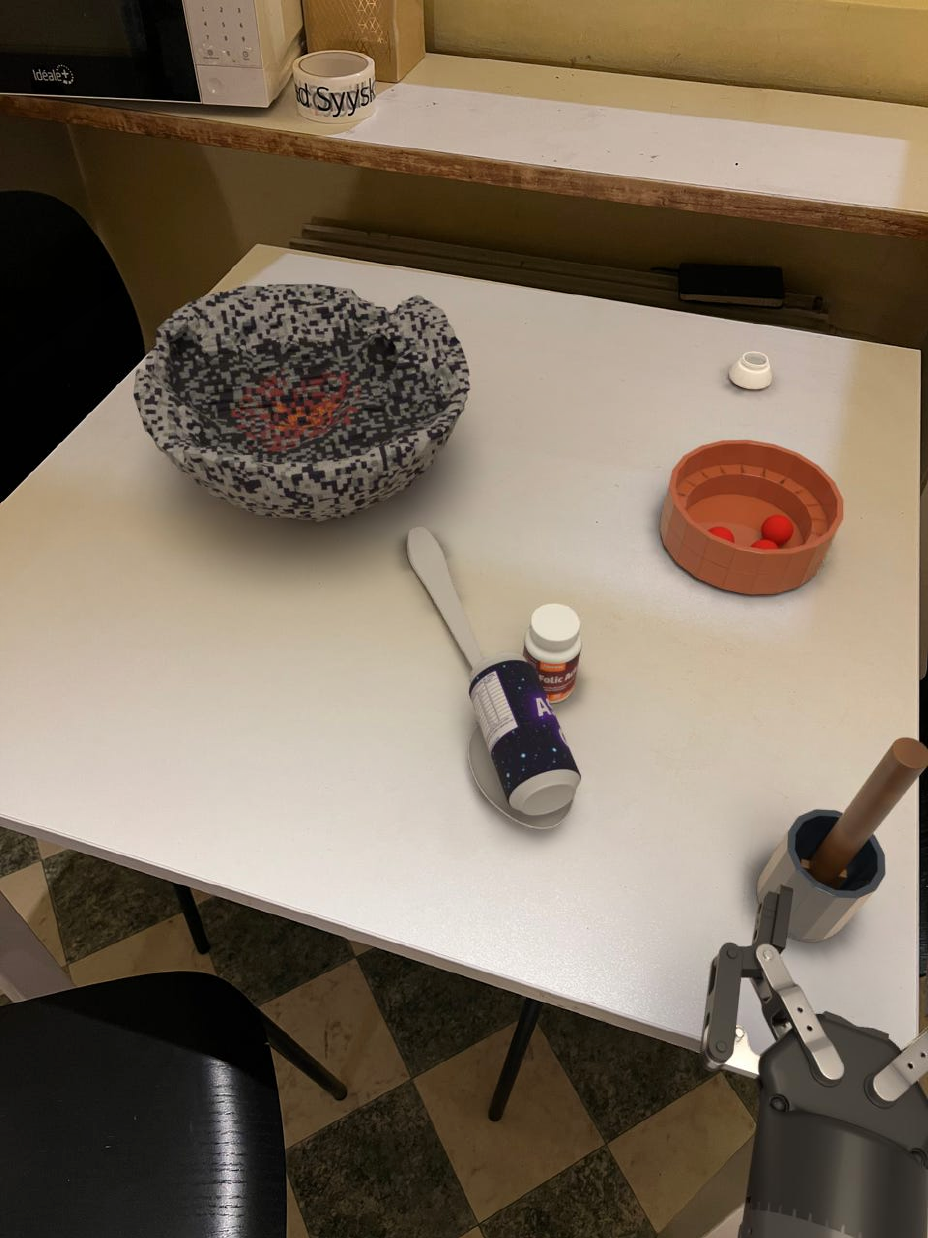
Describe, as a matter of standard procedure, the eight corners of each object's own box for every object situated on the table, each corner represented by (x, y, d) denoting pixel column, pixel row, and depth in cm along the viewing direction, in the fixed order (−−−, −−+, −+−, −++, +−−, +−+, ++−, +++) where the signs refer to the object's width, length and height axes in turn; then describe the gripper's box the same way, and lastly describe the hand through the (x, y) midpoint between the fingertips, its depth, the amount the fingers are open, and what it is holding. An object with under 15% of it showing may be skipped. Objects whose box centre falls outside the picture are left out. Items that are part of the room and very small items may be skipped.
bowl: (173, 608, 81) (125, 486, 69) (175, 409, 101) (138, 289, 89) (497, 559, 85) (503, 436, 74) (438, 377, 105) (435, 258, 93)
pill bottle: (536, 713, 73) (543, 652, 67) (511, 672, 76) (515, 610, 70) (584, 693, 75) (596, 632, 68) (558, 654, 77) (566, 592, 71)
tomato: (735, 530, 82) (719, 558, 82) (743, 537, 84) (728, 565, 84) (708, 518, 83) (692, 545, 84) (716, 525, 86) (702, 552, 86)
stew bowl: (824, 500, 91) (843, 455, 86) (822, 613, 81) (843, 569, 76) (669, 472, 93) (680, 427, 89) (648, 578, 83) (659, 533, 79)
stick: (823, 889, 63) (939, 743, 48) (823, 916, 62) (941, 774, 46) (781, 879, 63) (882, 731, 48) (780, 904, 62) (883, 761, 47)
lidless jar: (753, 397, 102) (778, 381, 104) (759, 375, 100) (785, 359, 102) (719, 378, 105) (745, 363, 107) (725, 357, 102) (751, 341, 105)
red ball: (791, 522, 86) (777, 549, 87) (764, 509, 86) (751, 537, 86) (803, 522, 83) (789, 550, 84) (776, 509, 83) (762, 537, 83)
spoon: (597, 827, 66) (601, 810, 64) (500, 858, 65) (502, 840, 63) (454, 538, 89) (453, 518, 87) (379, 554, 87) (378, 534, 85)
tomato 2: (776, 558, 84) (784, 536, 82) (774, 579, 83) (783, 558, 80) (744, 552, 85) (752, 530, 83) (742, 573, 83) (750, 551, 81)
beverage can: (573, 768, 59) (518, 638, 67) (499, 803, 60) (453, 670, 68) (594, 797, 64) (540, 672, 71) (525, 829, 64) (479, 701, 72)
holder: (844, 871, 64) (884, 821, 58) (844, 954, 60) (887, 910, 54) (759, 849, 65) (789, 798, 59) (753, 930, 61) (785, 884, 55)
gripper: (1048, 1328, 34) (1032, 939, 43) (687, 1175, 37) (747, 845, 47) (963, 1330, 40) (966, 986, 49) (657, 1197, 43) (716, 899, 53)
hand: (860, 917), depth 48 cm, fingers open, 8 cm apart
